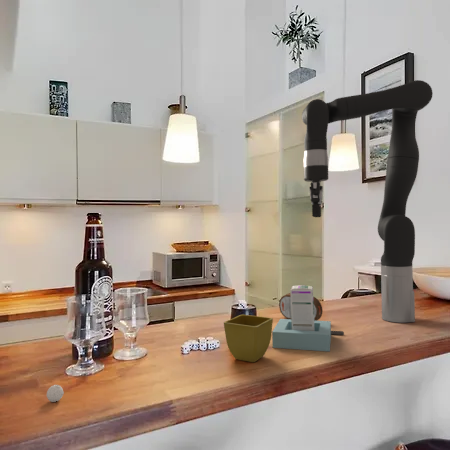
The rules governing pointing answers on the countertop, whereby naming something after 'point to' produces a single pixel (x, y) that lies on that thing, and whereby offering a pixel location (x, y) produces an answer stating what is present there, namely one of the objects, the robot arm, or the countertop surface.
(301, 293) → the syrup box
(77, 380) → the countertop surface
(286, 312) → the tin
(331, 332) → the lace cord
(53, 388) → the grey ball
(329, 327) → the teal square holder
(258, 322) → the flower pot
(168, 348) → the countertop surface
